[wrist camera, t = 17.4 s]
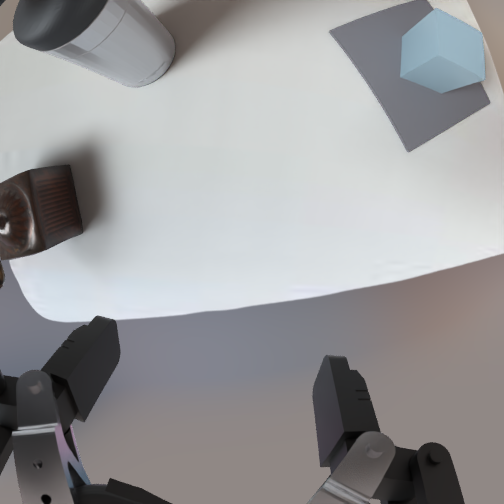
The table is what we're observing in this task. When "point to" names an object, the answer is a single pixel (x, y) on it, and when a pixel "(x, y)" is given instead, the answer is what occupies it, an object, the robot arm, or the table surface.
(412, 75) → the light blue tall box
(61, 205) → the pepper mill
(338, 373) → the robot arm
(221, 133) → the table surface
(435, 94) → the mat
